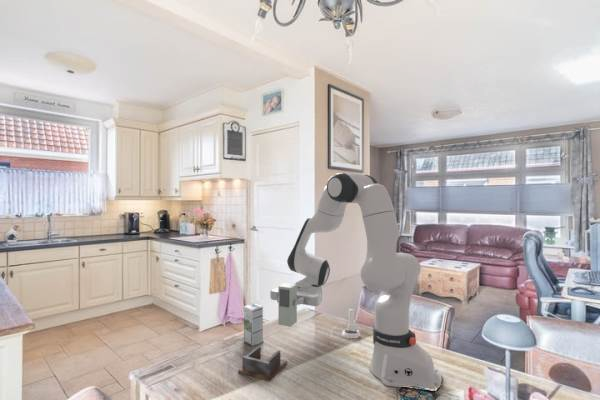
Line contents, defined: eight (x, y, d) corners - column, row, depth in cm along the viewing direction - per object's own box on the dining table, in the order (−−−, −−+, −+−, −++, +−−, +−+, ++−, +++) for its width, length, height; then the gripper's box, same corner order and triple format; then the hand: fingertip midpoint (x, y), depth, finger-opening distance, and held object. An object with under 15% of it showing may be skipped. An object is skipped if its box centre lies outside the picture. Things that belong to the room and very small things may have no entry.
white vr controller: (355, 314, 143) (361, 310, 138) (356, 343, 136) (363, 339, 131) (339, 312, 142) (345, 307, 137) (340, 340, 135) (346, 337, 129)
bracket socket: (286, 363, 111) (286, 349, 111) (269, 381, 100) (269, 365, 100) (257, 356, 116) (257, 342, 116) (238, 372, 105) (238, 357, 105)
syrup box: (263, 341, 128) (263, 305, 128) (251, 346, 124) (251, 309, 124) (254, 337, 132) (254, 302, 132) (243, 341, 128) (243, 305, 128)
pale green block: (296, 321, 118) (296, 284, 118) (290, 327, 113) (290, 288, 113) (284, 319, 120) (284, 282, 120) (277, 324, 115) (277, 286, 115)
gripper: (279, 281, 133) (262, 290, 120) (325, 287, 124) (311, 297, 112) (279, 296, 133) (262, 306, 120) (325, 303, 124) (311, 315, 112)
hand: (286, 302), depth 116 cm, fingers closed on pale green block, 5 cm apart
